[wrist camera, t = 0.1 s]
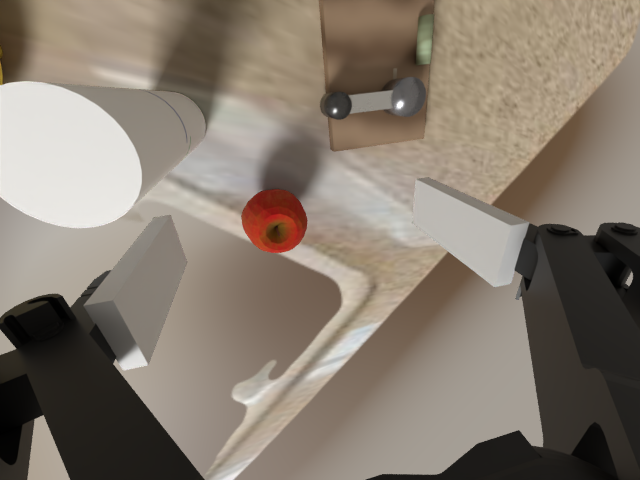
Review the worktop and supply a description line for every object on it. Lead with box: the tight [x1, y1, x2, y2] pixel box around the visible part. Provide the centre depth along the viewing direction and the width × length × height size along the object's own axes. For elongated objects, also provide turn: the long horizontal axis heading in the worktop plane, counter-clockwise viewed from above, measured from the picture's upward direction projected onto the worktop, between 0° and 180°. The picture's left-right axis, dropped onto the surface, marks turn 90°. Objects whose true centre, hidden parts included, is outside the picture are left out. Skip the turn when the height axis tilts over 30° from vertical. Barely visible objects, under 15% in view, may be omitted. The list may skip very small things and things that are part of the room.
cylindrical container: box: [0, 81, 206, 228], centre depth 25 cm, size 7×7×25 cm
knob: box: [320, 77, 426, 120], centre depth 36 cm, size 13×4×4 cm, turn 96°
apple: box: [241, 189, 307, 253], centre depth 39 cm, size 9×8×11 cm
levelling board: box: [319, 0, 434, 152], centre depth 35 cm, size 24×14×4 cm, turn 6°
